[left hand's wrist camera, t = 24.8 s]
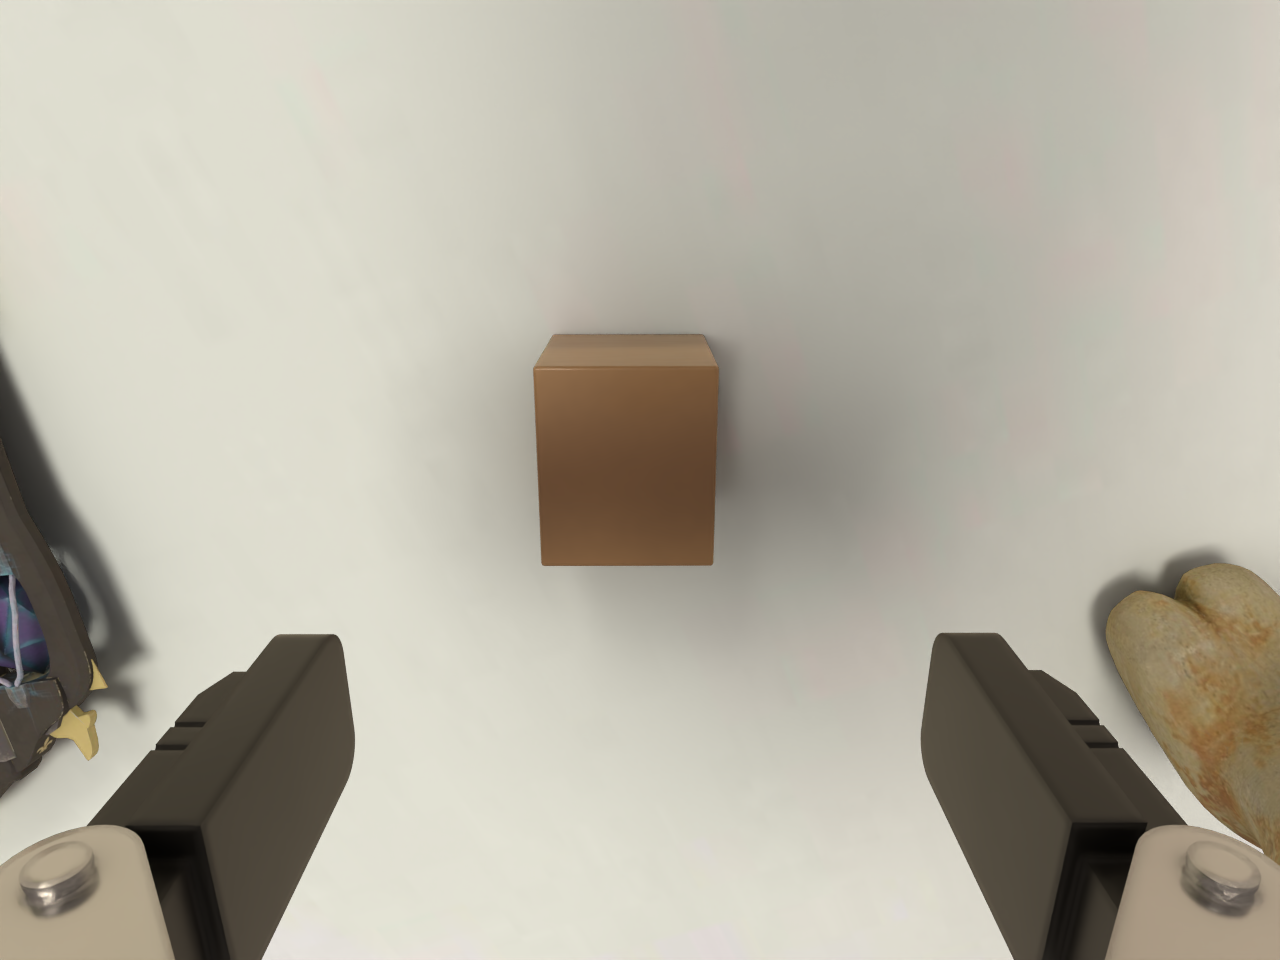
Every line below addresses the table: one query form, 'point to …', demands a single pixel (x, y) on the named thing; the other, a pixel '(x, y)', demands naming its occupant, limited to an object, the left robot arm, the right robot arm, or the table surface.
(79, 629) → the toy gun
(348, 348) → the table surface
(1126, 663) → the sculpture
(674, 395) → the brown wooden block
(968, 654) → the left robot arm
